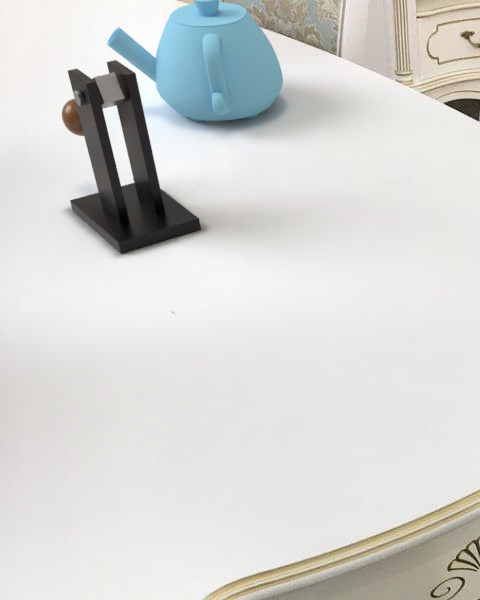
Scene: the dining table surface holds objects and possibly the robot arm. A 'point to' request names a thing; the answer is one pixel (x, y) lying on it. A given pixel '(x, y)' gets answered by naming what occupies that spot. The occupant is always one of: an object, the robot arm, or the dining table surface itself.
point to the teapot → (209, 62)
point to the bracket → (145, 190)
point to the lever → (108, 96)
